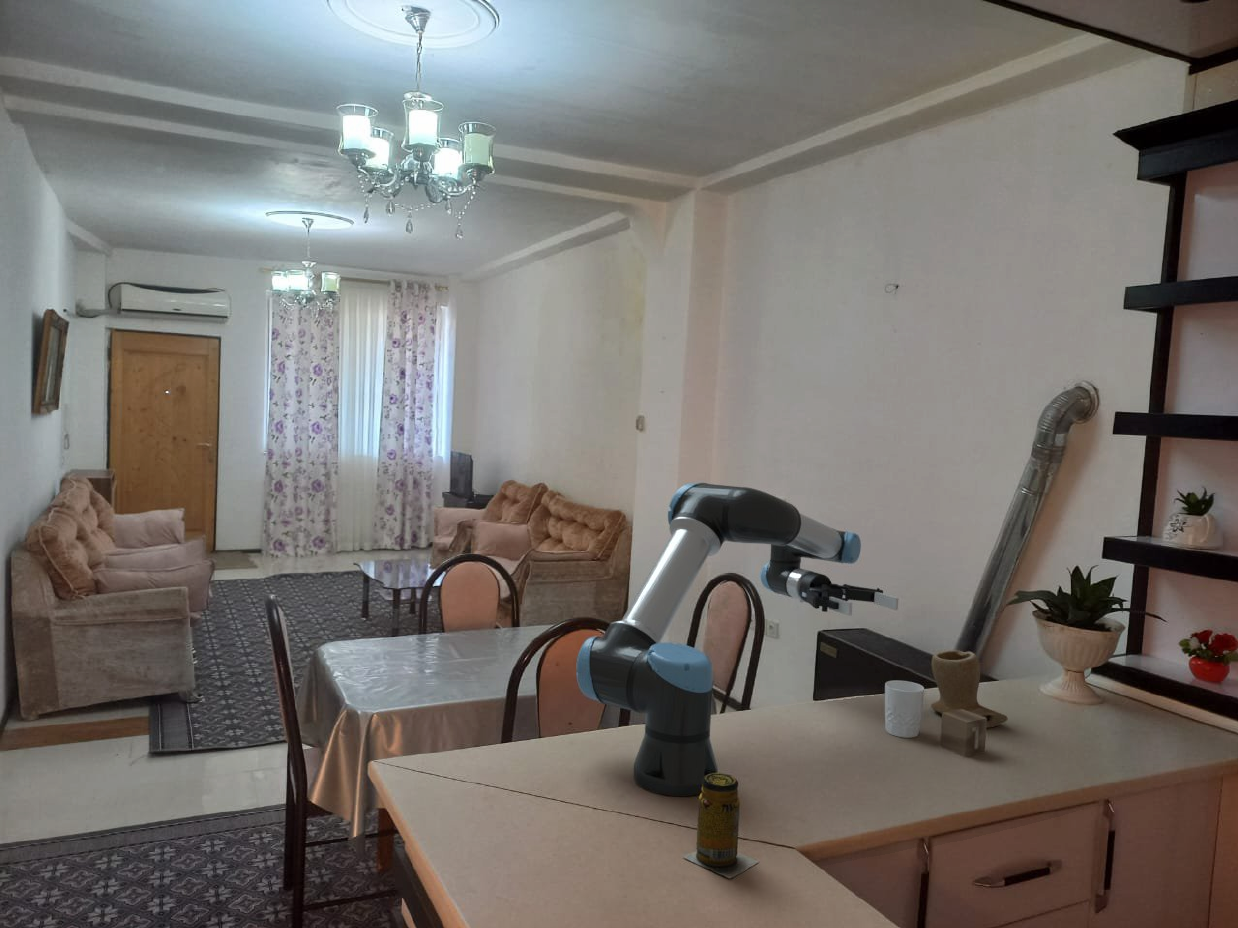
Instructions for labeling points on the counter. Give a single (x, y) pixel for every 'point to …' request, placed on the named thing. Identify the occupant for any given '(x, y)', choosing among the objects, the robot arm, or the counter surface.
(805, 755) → the counter surface
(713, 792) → the condiment
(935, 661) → the stone cup
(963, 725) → the marked walnut block
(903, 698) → the white cup
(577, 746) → the counter surface
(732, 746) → the counter surface
